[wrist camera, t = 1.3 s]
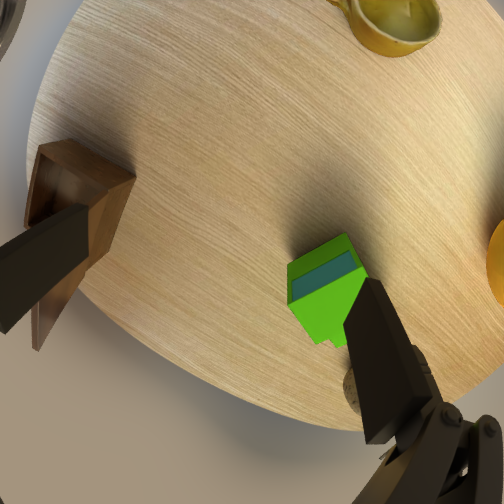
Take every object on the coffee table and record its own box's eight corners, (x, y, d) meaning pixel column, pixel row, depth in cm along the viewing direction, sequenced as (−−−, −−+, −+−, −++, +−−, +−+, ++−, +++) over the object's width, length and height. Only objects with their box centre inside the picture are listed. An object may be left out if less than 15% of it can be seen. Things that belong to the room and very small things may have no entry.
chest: (51, 211, 38) (23, 226, 32) (71, 138, 33) (38, 144, 26) (108, 251, 39) (83, 273, 33) (136, 177, 34) (109, 189, 28)
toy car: (326, 331, 41) (333, 382, 32) (280, 263, 37) (278, 309, 28) (388, 300, 38) (410, 347, 29) (350, 224, 34) (372, 260, 25)
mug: (440, 15, 19) (458, -2, 12) (409, 74, 26) (419, 74, 19) (350, -30, 20) (338, -60, 13) (321, 28, 27) (300, 14, 20)
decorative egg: (349, 384, 46) (357, 429, 37) (334, 367, 44) (340, 415, 35) (379, 369, 44) (391, 414, 35) (366, 351, 42) (378, 399, 33)
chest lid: (32, 348, 21) (38, 352, 21) (34, 251, 16) (42, 256, 16) (79, 273, 33) (84, 276, 33) (103, 188, 28) (109, 191, 28)
